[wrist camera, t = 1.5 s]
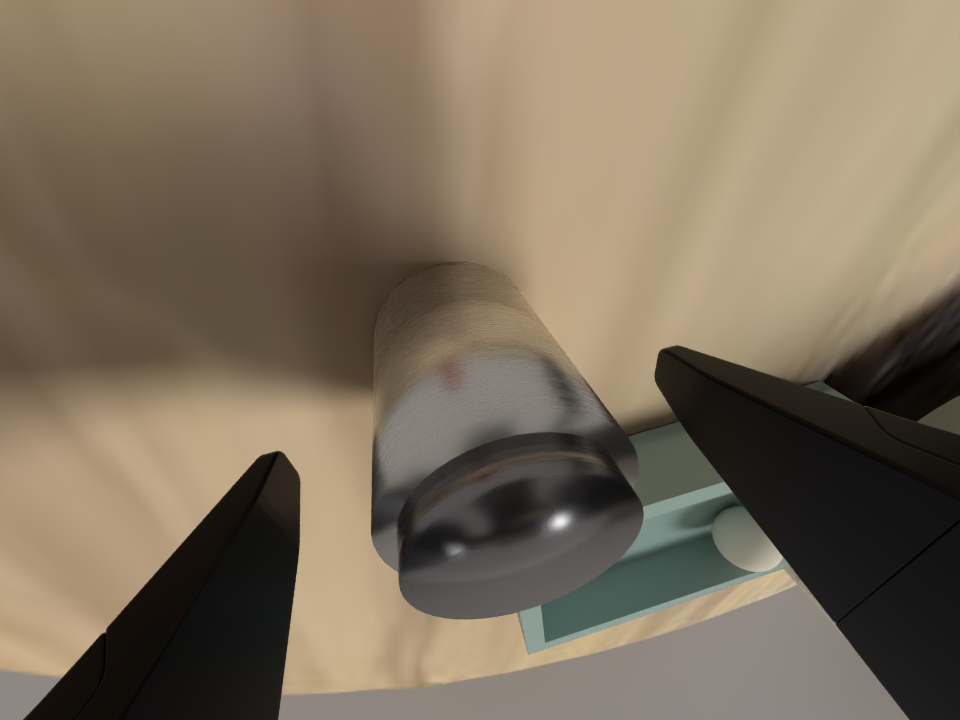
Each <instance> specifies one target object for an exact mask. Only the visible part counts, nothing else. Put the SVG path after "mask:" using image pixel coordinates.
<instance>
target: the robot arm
mask: <svg viewBox="0 0 960 720" xmlns="http://www.w3.org/2000/svg"><path fill="white" fill-rule="evenodd" d="M655 382H656V384H657V386H658V388H659V389H660V391H661V392H662V394H663V396H664V397H665V399H666V401H667V402H668V404H669V405H670V407H671V409H672V410H673V412H674V413H675V415H676V417H677V418H678V420H679V421H680V423H681V425H682V426H683V428H684V429H685V431H686V432H687V434H688V435H689V437H690V438H691V439H692V441H693V442H694V443H695V445H696V446H697V447H698V449H699V450H700V451H701V452H702V454H703V455H704V456H705V458H706V459H707V460H708V461H709V463H710V464H711V465H712V466H713V468H714V469H715V470H716V472H717V473H718V474H719V475H720V477H721V478H722V479H723V481H724V482H725V483H726V484H727V486H728V487H729V488H730V490H731V491H732V492H733V493H734V495H735V496H736V497H737V499H738V500H739V501H740V502H741V504H742V505H743V506H744V508H745V509H746V510H747V511H748V513H749V514H750V515H751V517H752V518H753V519H754V520H755V522H756V523H757V524H758V526H759V527H760V528H761V529H762V531H763V532H764V533H765V535H766V536H767V537H768V538H769V540H770V541H771V542H772V544H773V545H774V546H775V547H776V549H777V550H778V551H779V552H780V554H781V555H782V556H783V558H784V559H785V560H786V561H787V563H788V564H789V565H790V567H791V568H792V569H793V570H794V572H795V573H796V574H797V576H798V577H799V578H800V579H801V581H802V582H803V583H804V585H805V586H806V587H807V588H808V590H809V591H810V592H811V594H812V595H813V596H814V597H815V599H816V600H817V601H818V603H819V604H820V605H821V606H822V608H823V609H824V610H825V612H826V613H827V614H828V615H829V617H830V618H831V619H832V621H833V622H835V623H836V626H837V627H838V629H839V630H840V631H841V633H842V634H843V635H844V636H845V638H846V639H847V640H848V641H849V643H850V644H851V645H852V647H853V648H854V649H855V650H856V652H857V653H858V654H859V655H860V657H861V658H862V659H863V661H864V662H865V663H866V665H867V666H868V667H869V668H870V670H871V671H872V672H873V674H874V675H875V676H876V677H877V679H878V680H879V681H880V682H881V684H882V685H883V686H884V688H885V689H886V690H887V691H888V693H889V694H890V695H891V697H892V698H893V699H894V700H895V702H896V703H897V704H898V706H899V707H900V708H901V709H902V711H903V712H904V713H905V715H906V716H907V717H908V718H909V720H960V434H956V433H953V432H949V431H946V430H942V429H939V428H935V427H931V426H928V425H925V424H922V423H918V422H915V421H912V420H909V419H905V418H902V417H899V416H896V415H893V414H889V413H886V412H883V411H880V410H877V409H874V408H871V407H868V406H864V407H863V406H862V405H861V404H858V403H855V402H852V401H849V400H846V399H843V398H840V397H837V396H834V395H831V394H827V393H824V392H821V391H818V390H815V389H812V388H809V387H806V386H803V385H800V384H796V383H793V382H790V381H787V380H784V379H781V378H778V377H775V376H772V375H769V374H765V373H762V372H759V371H756V370H753V369H750V368H747V367H744V366H741V365H738V364H734V363H731V362H728V361H725V360H722V359H719V358H716V357H713V356H710V355H707V354H703V353H700V352H697V351H694V350H691V349H688V348H685V347H682V346H677V345H676V346H671V347H667V348H664V349H662V350H660V352H659V354H658V358H657V364H656V369H655ZM299 545H300V477H299V474H298V472H297V471H296V469H295V468H294V467H293V465H292V464H291V462H290V461H289V460H288V458H287V457H286V456H285V454H284V453H283V452H281V451H275V452H271V453H268V454H264V455H261V456H260V457H258V458H257V459H256V461H255V462H254V463H253V464H252V465H251V466H250V467H249V468H248V470H247V471H246V472H245V473H244V474H243V475H242V476H241V477H240V479H239V480H238V481H237V482H236V483H235V484H234V485H233V486H232V488H231V489H230V490H229V491H228V492H227V493H226V494H225V495H224V497H223V498H222V499H221V500H220V501H219V502H218V503H217V505H216V506H215V507H214V508H213V509H212V510H211V511H210V512H209V514H208V515H207V516H206V517H205V518H204V519H203V520H202V521H201V523H200V524H199V525H198V526H197V527H196V528H195V529H194V530H193V532H192V533H191V534H190V535H189V536H188V537H187V538H186V539H185V541H184V542H183V543H182V544H181V545H180V546H179V547H178V548H177V550H176V551H175V552H174V553H173V554H172V555H171V556H170V557H169V559H168V560H167V561H166V562H165V563H164V564H163V565H162V566H161V568H160V569H159V570H158V571H157V572H156V573H155V574H154V575H153V577H152V578H151V579H150V580H149V581H148V582H147V583H146V584H145V586H144V587H143V588H142V589H141V590H140V591H139V592H138V593H137V595H136V596H135V597H134V598H133V599H132V600H131V601H130V602H129V604H128V605H127V606H126V607H125V608H124V609H123V610H122V611H121V613H120V614H119V615H118V616H117V617H116V618H115V619H114V620H113V622H112V623H111V624H110V625H109V626H108V627H107V629H106V633H102V634H101V635H100V636H99V637H98V638H97V640H96V641H95V642H94V643H93V644H92V645H91V646H90V647H89V649H88V650H87V651H86V652H85V653H84V654H83V655H82V656H81V658H80V659H79V660H78V661H77V662H76V663H75V664H74V665H73V666H72V667H71V669H70V670H69V671H68V672H67V673H66V674H65V675H64V676H63V677H62V678H61V680H60V681H59V682H58V683H57V684H56V685H55V686H54V687H53V688H52V689H51V691H50V692H49V693H48V694H47V695H46V696H45V697H44V698H43V699H42V700H41V702H40V703H39V704H38V705H37V706H36V707H35V708H34V709H33V710H32V711H31V712H30V713H29V714H28V715H27V716H26V717H25V718H24V719H23V720H278V717H279V709H280V701H281V693H282V685H283V677H284V669H285V661H286V653H287V645H288V637H289V629H290V621H291V613H292V605H293V597H294V590H295V582H296V574H297V566H298V557H299Z"/></svg>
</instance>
